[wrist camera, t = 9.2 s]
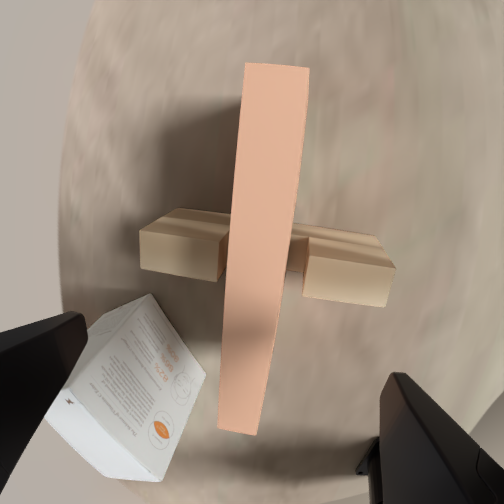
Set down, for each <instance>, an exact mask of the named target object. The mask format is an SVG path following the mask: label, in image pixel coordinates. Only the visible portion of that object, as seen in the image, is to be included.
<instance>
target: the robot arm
mask: <svg viewBox="0 0 504 504" xmlns="http://www.w3.org/2000/svg"><path fill="white" fill-rule="evenodd" d="M87 342H88V332H87V327H86V322H85V318H84V316H83V315H82V314H81V313H77V312H74V311H70V312H67V313H63V314H60V315H57V316H54V317H51V318H47V319H44V320H40V321H37V322H34V323H31V324H28V325H24V326H21V327H18V328H15V329H11V330H8V331H4V332H1V333H0V494H1V492H2V490H3V488H4V487H5V485H6V483H7V481H8V479H9V477H10V475H11V473H12V471H13V469H14V468H15V466H16V464H17V462H18V460H19V459H20V457H21V455H22V453H23V451H24V449H25V448H26V446H27V444H28V443H29V441H30V439H31V438H32V436H33V434H34V433H35V431H36V429H37V428H38V426H39V424H40V423H41V421H42V419H43V418H44V416H45V415H46V413H47V411H48V410H49V408H50V407H51V405H52V403H53V402H54V400H55V399H56V397H57V396H58V394H59V393H60V391H61V389H62V388H63V386H64V385H65V383H66V382H67V380H68V378H69V376H70V375H71V373H72V371H73V369H74V367H75V365H76V363H77V361H78V359H79V357H80V356H81V354H82V352H83V350H84V348H85V346H86V344H87ZM356 475H368V482H369V497H370V504H504V469H503V468H502V467H501V466H500V465H499V464H497V463H496V462H495V461H494V460H493V459H492V458H491V457H490V456H489V455H488V454H487V453H486V452H485V451H484V450H483V449H482V448H480V446H479V445H478V444H477V443H476V442H475V441H474V440H473V439H472V438H471V437H470V436H469V435H468V434H467V433H466V432H465V431H464V430H463V429H462V428H461V427H460V426H459V425H458V424H457V423H456V422H455V421H454V420H453V419H452V418H451V417H450V416H449V415H448V414H447V413H446V412H445V411H444V410H443V409H442V408H441V407H440V406H439V405H438V404H437V403H436V402H435V401H434V400H433V399H432V398H431V397H430V396H429V395H428V394H427V393H426V392H425V391H424V390H423V389H422V388H421V387H420V386H419V385H418V384H416V383H415V382H414V381H413V380H412V379H411V378H410V377H409V376H408V375H407V374H406V373H402V372H393V373H391V374H390V375H389V377H388V380H387V382H386V384H385V386H384V388H383V390H382V393H381V396H380V438H377V439H376V440H375V441H374V443H373V444H372V446H371V447H370V449H369V451H368V452H367V454H366V455H365V457H364V458H363V460H362V461H361V463H360V464H359V466H358V467H357V469H356Z"/></svg>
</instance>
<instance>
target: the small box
mask: <svg viewBox="0 0 504 504" xmlns="http://www.w3.org/2000/svg"><path fill="white" fill-rule="evenodd" d="M87 332H88V342H87V344H86V346H85V348H84V350H83V352H82V354H81V356H80V357H79V359H78V361H77V363H76V365H75V367H74V369H73V371H72V373H71V375H70V376H69V378H68V380H67V382H66V383H65V385H64V386H63V388H62V389H61V391H60V393H59V394H58V396H57V397H56V399H55V400H54V402H53V403H52V405H51V407H50V408H49V410H48V411H47V413H46V415H45V416H44V418H45V419H46V420H47V422H48V423H49V424H50V425H51V426H52V427H53V428H54V429H55V430H56V431H57V432H58V433H59V434H60V436H62V437H63V439H64V440H65V441H66V442H67V443H68V444H69V445H70V446H71V447H72V448H74V450H76V451H77V452H78V453H79V454H80V455H81V456H82V457H83V458H84V459H85V460H86V461H87V462H88V463H90V464H91V465H92V466H93V467H94V468H95V469H96V470H97V471H99V472H100V473H101V474H102V475H103V476H105V477H109V478H117V479H126V480H137V481H151V482H160V481H162V480H163V478H164V476H165V473H166V470H167V468H168V466H169V463H170V461H171V459H172V456H173V454H174V452H175V449H176V447H177V445H178V442H179V440H180V438H181V435H182V432H183V430H184V428H185V425H186V423H187V421H188V418H189V416H190V413H191V411H192V408H193V406H194V403H195V401H196V398H197V396H198V394H199V391H200V389H201V387H202V384H203V382H204V379H205V377H206V373H205V372H204V370H203V369H202V368H201V366H200V365H199V363H198V362H197V361H196V359H195V358H194V357H193V355H192V354H191V352H190V351H189V349H188V348H187V347H186V345H185V344H184V342H183V341H182V339H181V338H180V336H179V335H178V333H177V332H176V330H175V329H174V327H173V326H172V324H171V323H170V322H169V320H168V319H167V317H166V316H165V314H164V313H163V311H162V310H161V308H160V306H159V305H158V303H157V302H156V300H155V299H154V297H153V295H152V294H151V293H150V294H147V295H145V296H143V297H141V298H138V299H136V300H134V301H132V302H129V303H127V304H125V305H123V306H120V307H118V308H116V309H114V310H112V311H109V312H107V313H105V314H103V315H102V316H101V317H100V318H99V319H98V320H97V321H96V322H95V323H94V324H93V325H92V326H91V327H90V328H89V329H88V330H87Z"/></svg>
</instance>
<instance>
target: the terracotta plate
mask: <svg viewBox="0 0 504 504" xmlns="http://www.w3.org/2000/svg"><path fill="white" fill-rule="evenodd" d="M308 90H309V68H305V67H296V66H287V65H276V64H262V63H245V73H244V82H243V91H242V101H241V111H240V121H239V131H238V141H237V152H236V162H235V173H234V185H233V196H232V208H231V220H230V233H229V245H228V259H227V272H226V286H225V301H224V316H223V332H222V348H221V366H220V384H219V404H218V426H217V428H219V429H224V430H228V431H233V432H238V433H244V434H249V435H255V436H256V434H257V429H258V424H259V420H260V415H261V410H262V405H263V400H264V395H265V390H266V385H267V380H268V374H269V369H270V364H271V359H272V353H273V348H274V342H275V336H276V330H277V324H278V318H279V312H280V306H281V300H282V294H283V287H284V281H285V274H286V265H287V259H288V252H289V245H290V238H291V231H292V224H293V217H294V210H295V204H296V197H297V189H298V182H299V174H300V166H301V157H302V149H303V140H304V132H305V123H306V114H307V104H308Z"/></svg>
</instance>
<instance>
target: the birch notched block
mask: <svg viewBox="0 0 504 504" xmlns="http://www.w3.org/2000/svg"><path fill="white" fill-rule="evenodd" d="M230 220H231V214H225V213H217V212H209V211H201V210H193V209H184V208H176V209H175V210H173V211H171V212H169V213H168V214H166V215H164V216H162V217H161V218H159V219H157V220H156V221H154V222H152V223H151V224H149V225H147V226H146V227H144V228H142V229H141V230H139V241H140V268H141V269H146V270H151V271H156V272H162V273H167V274H172V275H178V276H183V277H189V278H194V279H200V280H206V281H211V282H217V281H218V279H219V278H220V276H221V275H222V273H223V271H224V270H225V268H226V266H227V259H228V245H229V233H230ZM286 270H289V271H295V272H302V273H303V291H302V296H304V297H311V298H318V299H325V300H332V301H339V302H346V303H354V304H361V305H369V306H376V307H384V308H385V305H386V302H387V299H388V295H389V292H390V289H391V285H392V282H393V278H394V274H395V271H396V268H395V266H394V265H393V263H392V261H391V260H390V258H389V257H388V255H387V253H386V252H385V250H384V249H383V247H382V246H381V244H380V243H379V241H378V240H377V238H376V237H375V236H373V235H367V234H361V233H354V232H348V231H342V230H336V229H329V228H323V227H317V226H310V225H303V224H297V223H293V224H292V231H291V238H290V245H289V252H288V259H287V265H286Z"/></svg>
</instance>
